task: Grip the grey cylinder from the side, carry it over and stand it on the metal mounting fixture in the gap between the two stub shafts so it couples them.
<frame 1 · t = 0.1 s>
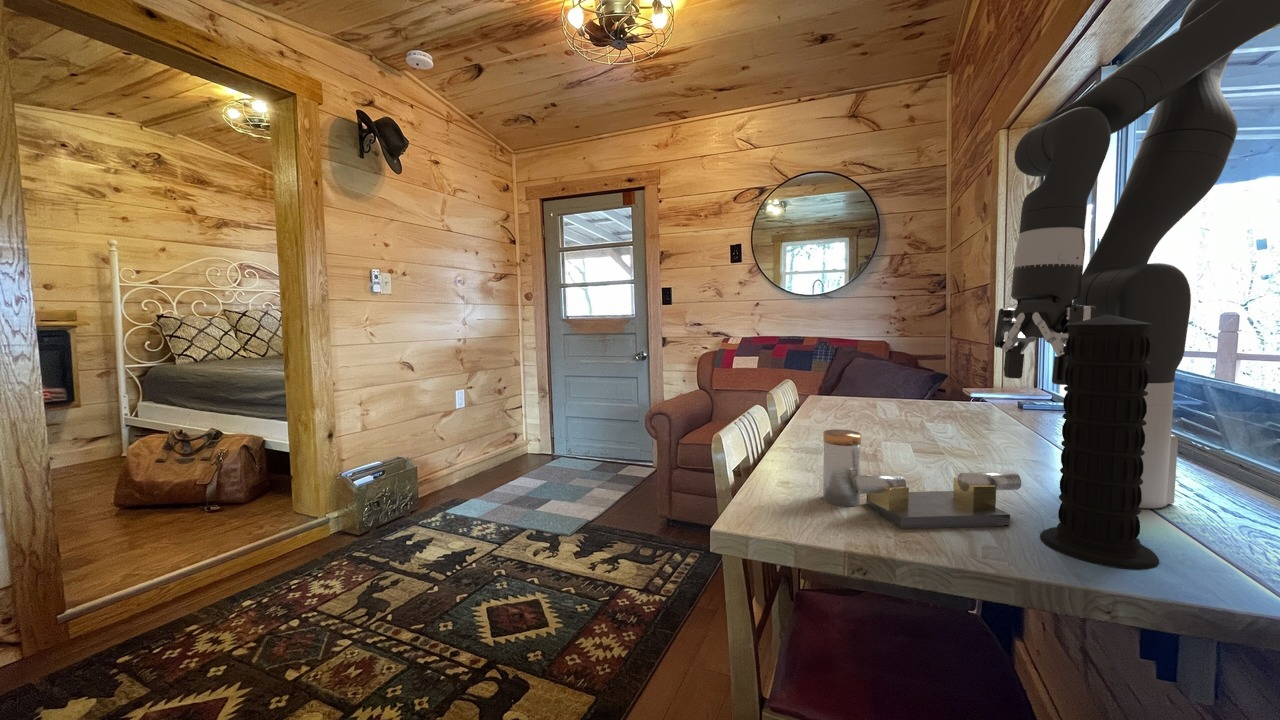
hand: (1035, 381, 70), 17 cm above the table, tool pointing down, fingers open, 8 cm apart
metal mounting fixture: (933, 513, 67), on the table
grey cylinder: (841, 500, 73), on the table
handle grip: (1096, 549, 57), on the table
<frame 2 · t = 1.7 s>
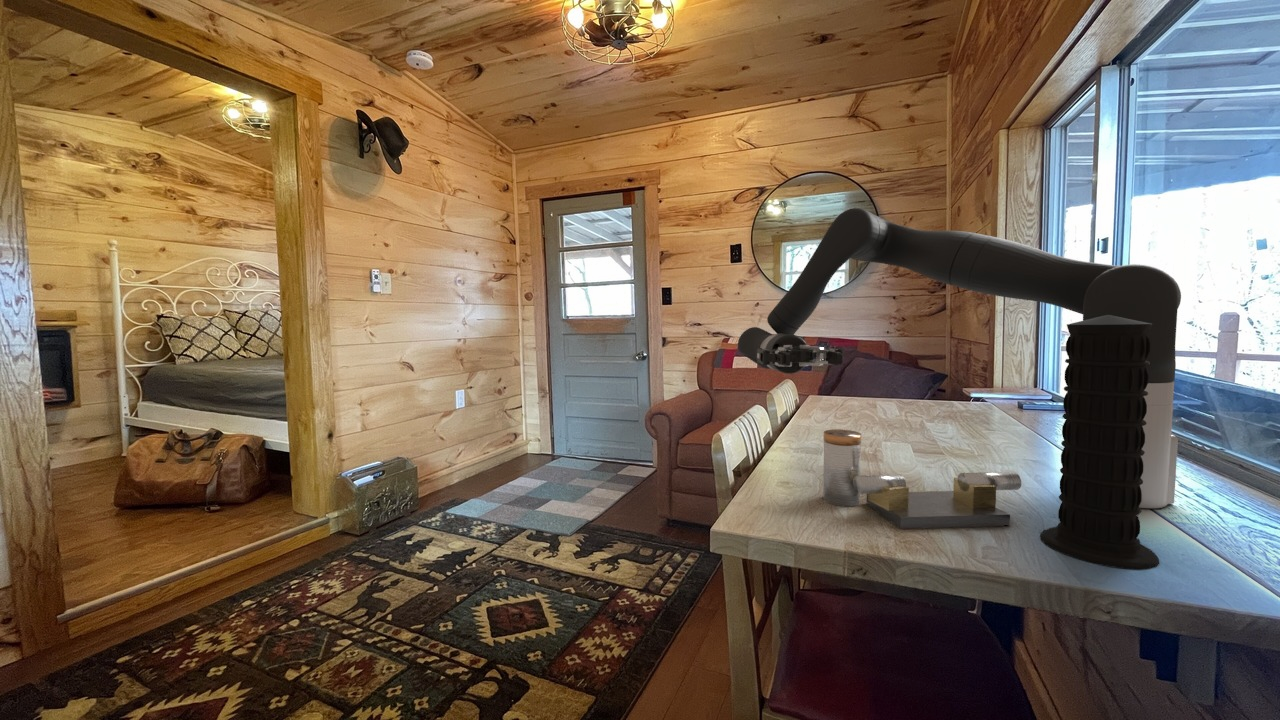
hand: (813, 359, 83), 20 cm above the table, tool horizontal, fingers open, 8 cm apart
nothing on the table moved.
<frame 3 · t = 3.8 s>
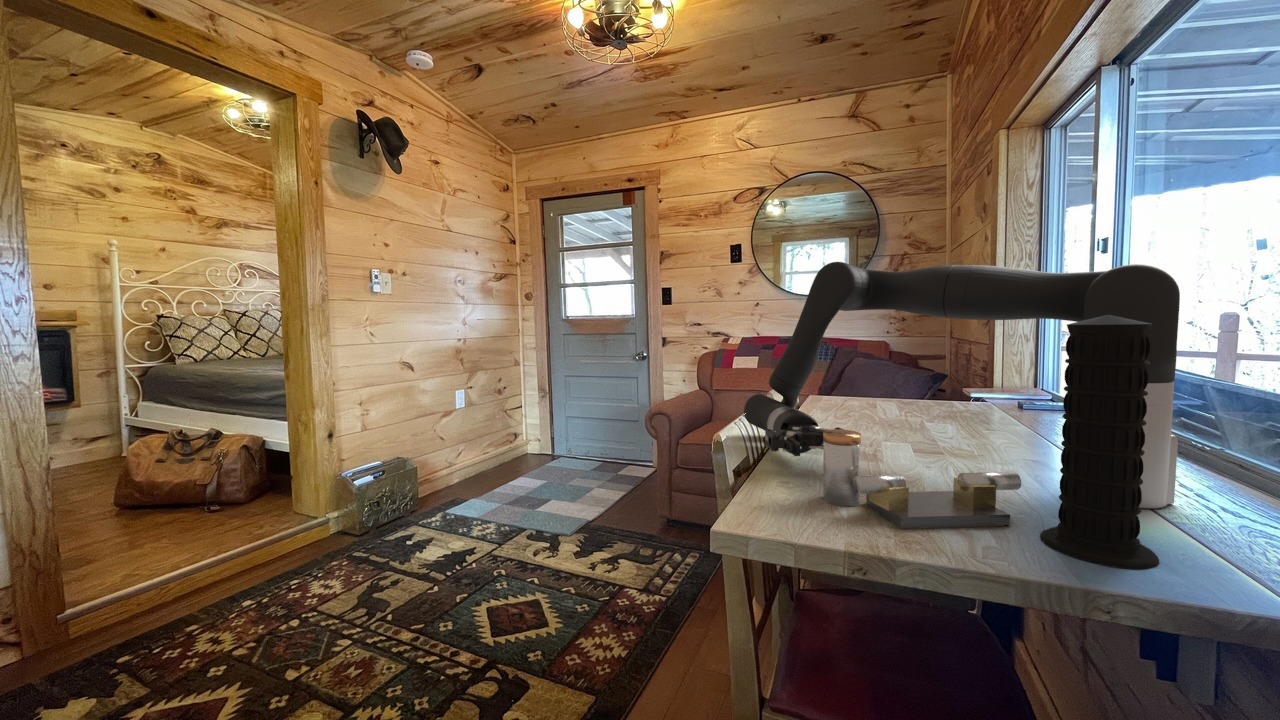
hand: (824, 449, 79), 6 cm above the table, tool horizontal, fingers open, 8 cm apart
nothing on the table moved.
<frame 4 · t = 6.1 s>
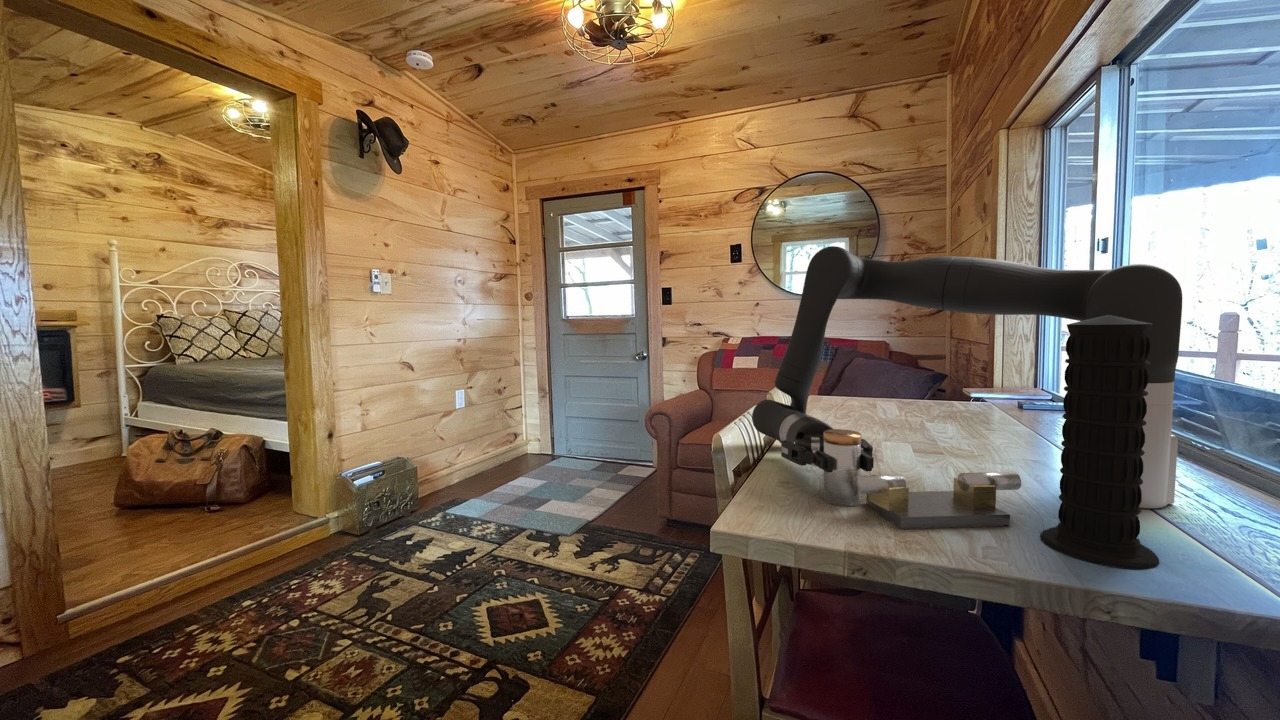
hand: (849, 464, 70), 6 cm above the table, tool horizontal, fingers closed on grey cylinder, 5 cm apart
grey cylinder: (841, 500, 73), on the table, touching gripper
everything else where it was.
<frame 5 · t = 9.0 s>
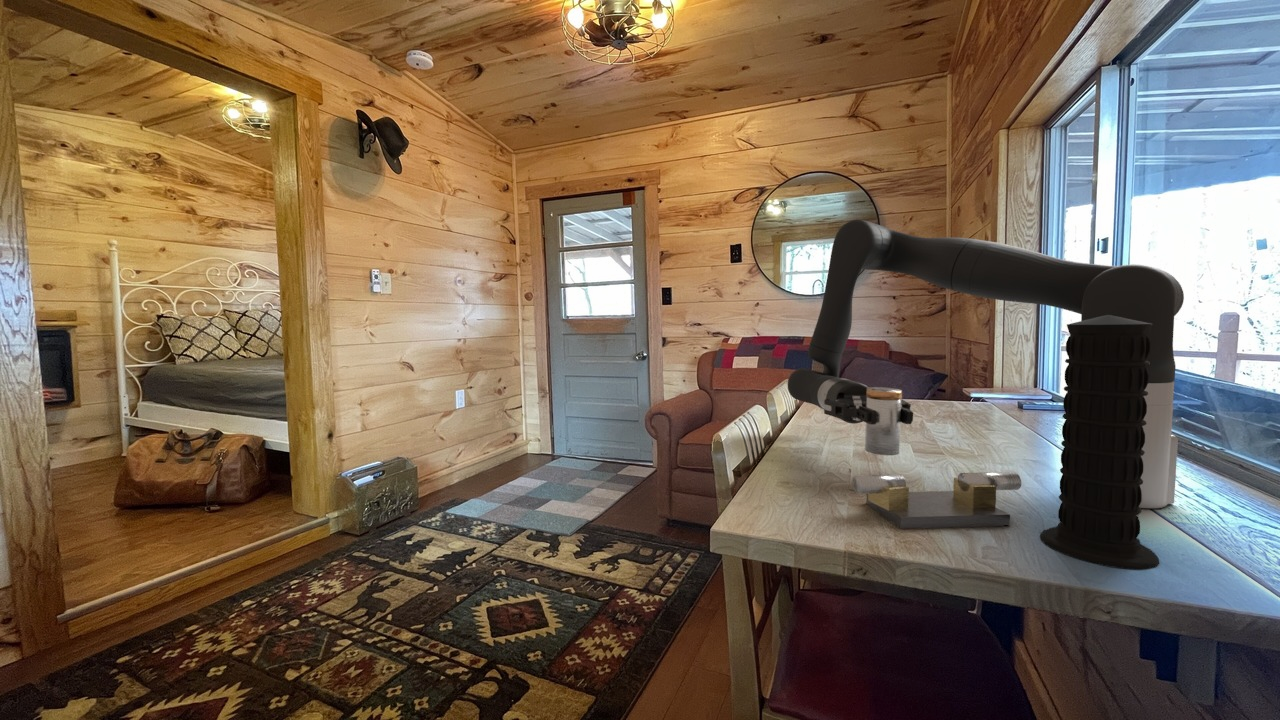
hand: (891, 417, 77), 11 cm above the table, tool horizontal, fingers closed on grey cylinder, 5 cm apart
grey cylinder: (881, 451, 80), point 5 cm above the table, touching gripper
everything else where it was.
when the fingers open (9 cm above the table, at t = 12.2 s): grey cylinder drops 1 cm, resting on metal mounting fixture.
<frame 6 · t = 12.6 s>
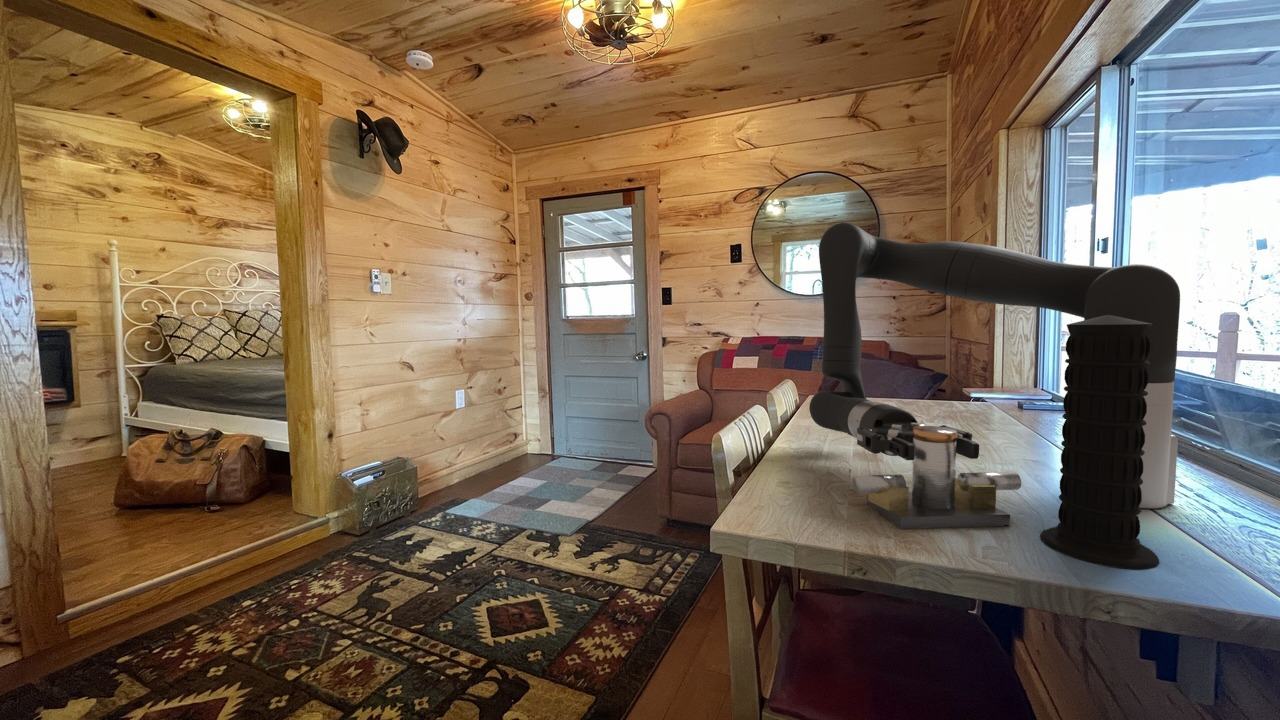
hand: (944, 452, 65), 9 cm above the table, tool horizontal, fingers open, 8 cm apart
grey cylinder: (932, 502, 67), point 2 cm above the table, touching metal mounting fixture
everything else where it was.
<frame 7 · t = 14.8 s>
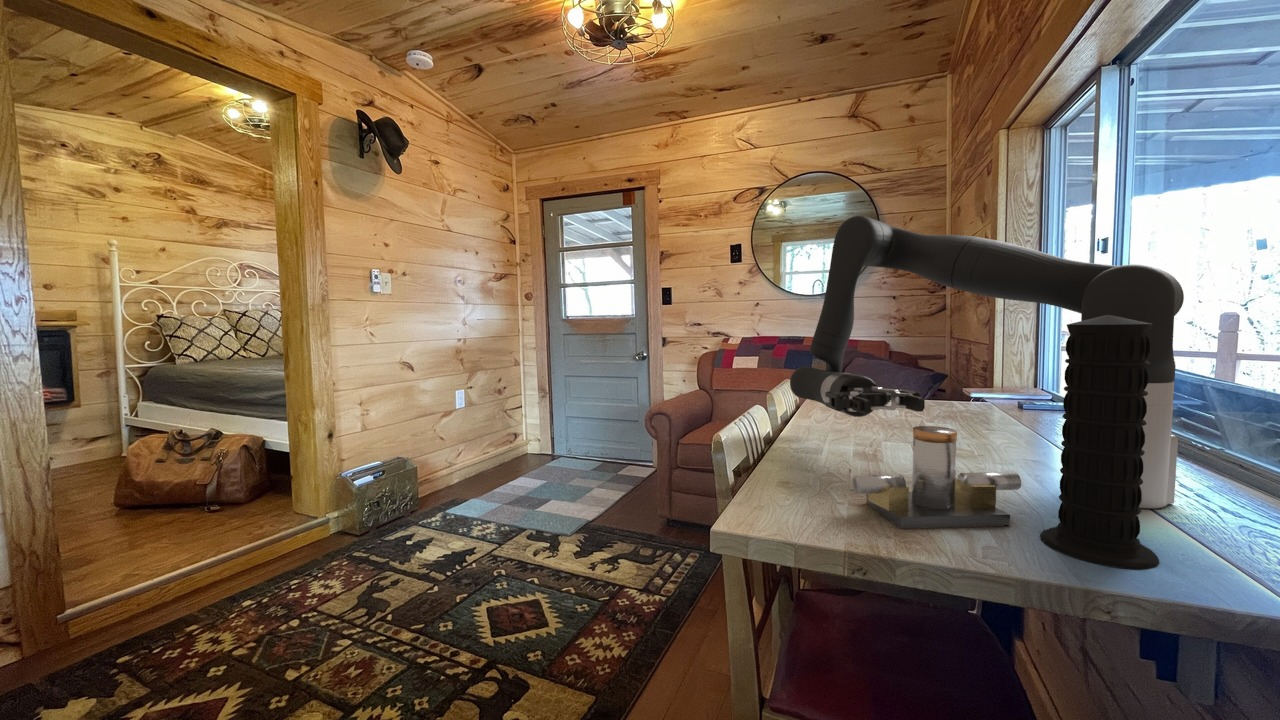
hand: (894, 405, 77), 13 cm above the table, tool horizontal, fingers open, 8 cm apart
nothing on the table moved.
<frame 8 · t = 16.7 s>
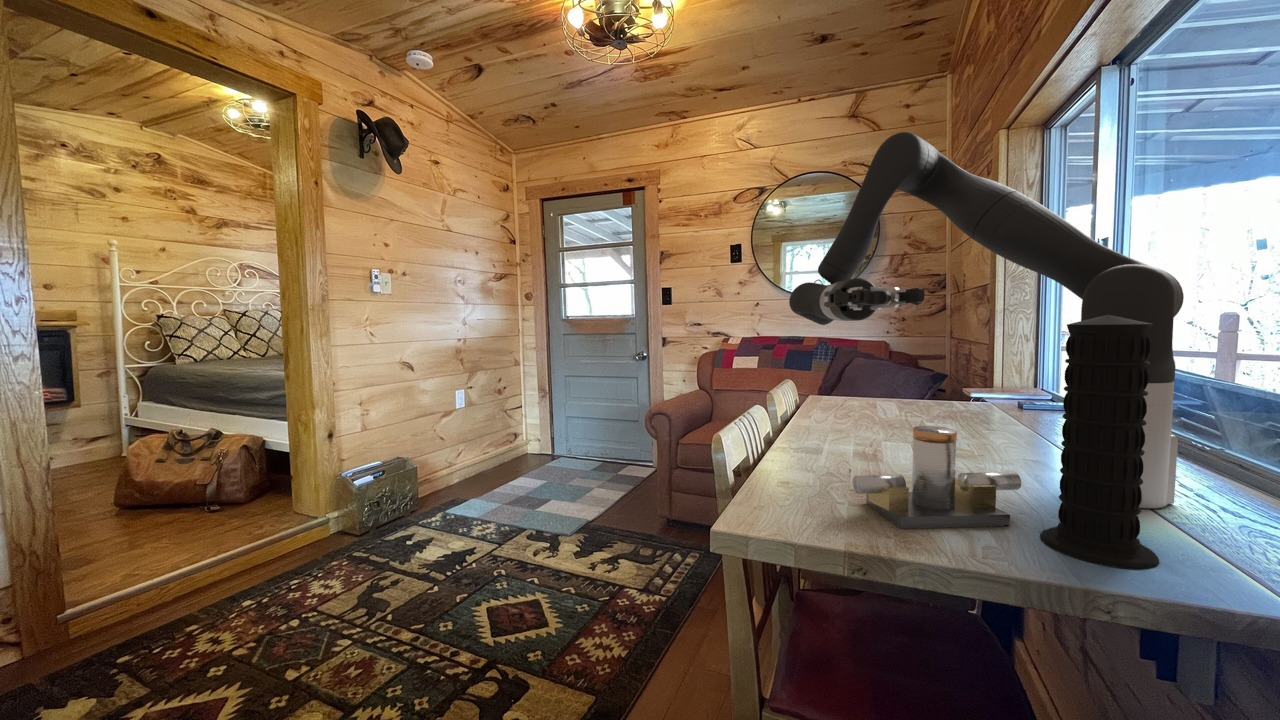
hand: (894, 295, 76), 30 cm above the table, tool horizontal, fingers open, 8 cm apart
nothing on the table moved.
at the end: grey cylinder inside the target area (0.3 cm from its centre), point 1.5 cm above the table; grey cylinder tilted 0°; the gripper is holding nothing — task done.
